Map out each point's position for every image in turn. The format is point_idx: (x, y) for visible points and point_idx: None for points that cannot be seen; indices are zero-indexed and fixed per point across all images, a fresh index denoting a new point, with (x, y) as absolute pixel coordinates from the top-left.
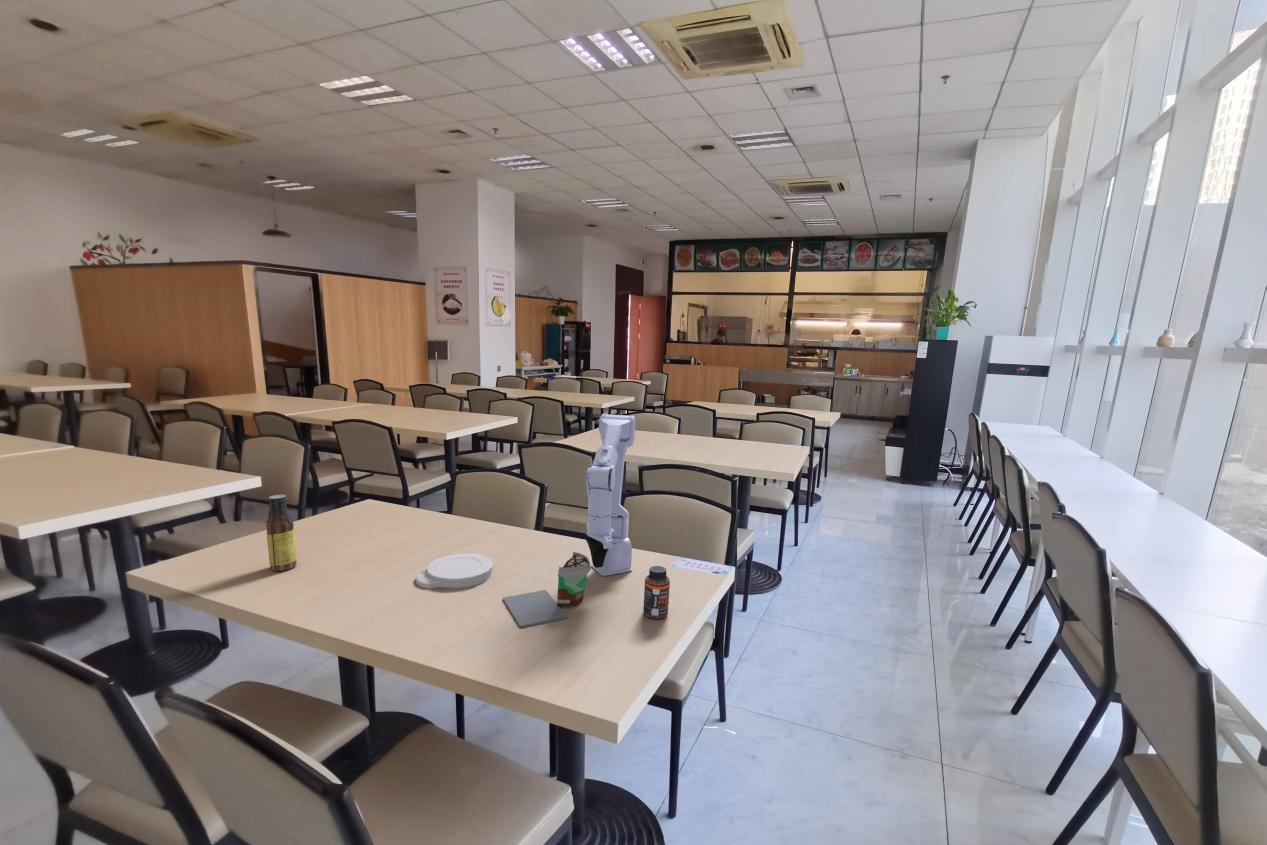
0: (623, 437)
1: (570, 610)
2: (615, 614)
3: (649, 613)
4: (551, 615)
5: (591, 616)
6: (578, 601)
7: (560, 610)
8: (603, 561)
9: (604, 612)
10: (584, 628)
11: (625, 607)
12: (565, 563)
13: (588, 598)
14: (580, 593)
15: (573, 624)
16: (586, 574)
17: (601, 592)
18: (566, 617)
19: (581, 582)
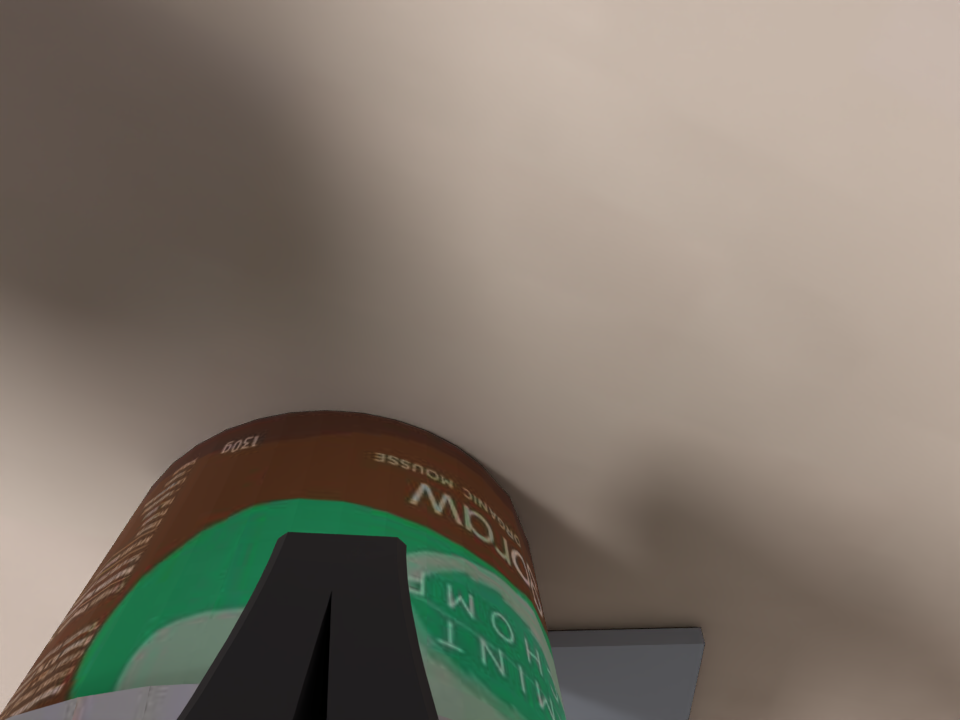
0: None
1: (581, 572)
2: (927, 242)
3: None
4: (625, 716)
5: (796, 464)
6: (514, 522)
7: (580, 656)
8: (412, 638)
9: (805, 331)
10: (942, 569)
11: (862, 40)
12: None
13: (403, 364)
14: (522, 578)
15: (824, 613)
16: (485, 718)
17: (289, 164)
18: (702, 636)
19: (553, 711)
